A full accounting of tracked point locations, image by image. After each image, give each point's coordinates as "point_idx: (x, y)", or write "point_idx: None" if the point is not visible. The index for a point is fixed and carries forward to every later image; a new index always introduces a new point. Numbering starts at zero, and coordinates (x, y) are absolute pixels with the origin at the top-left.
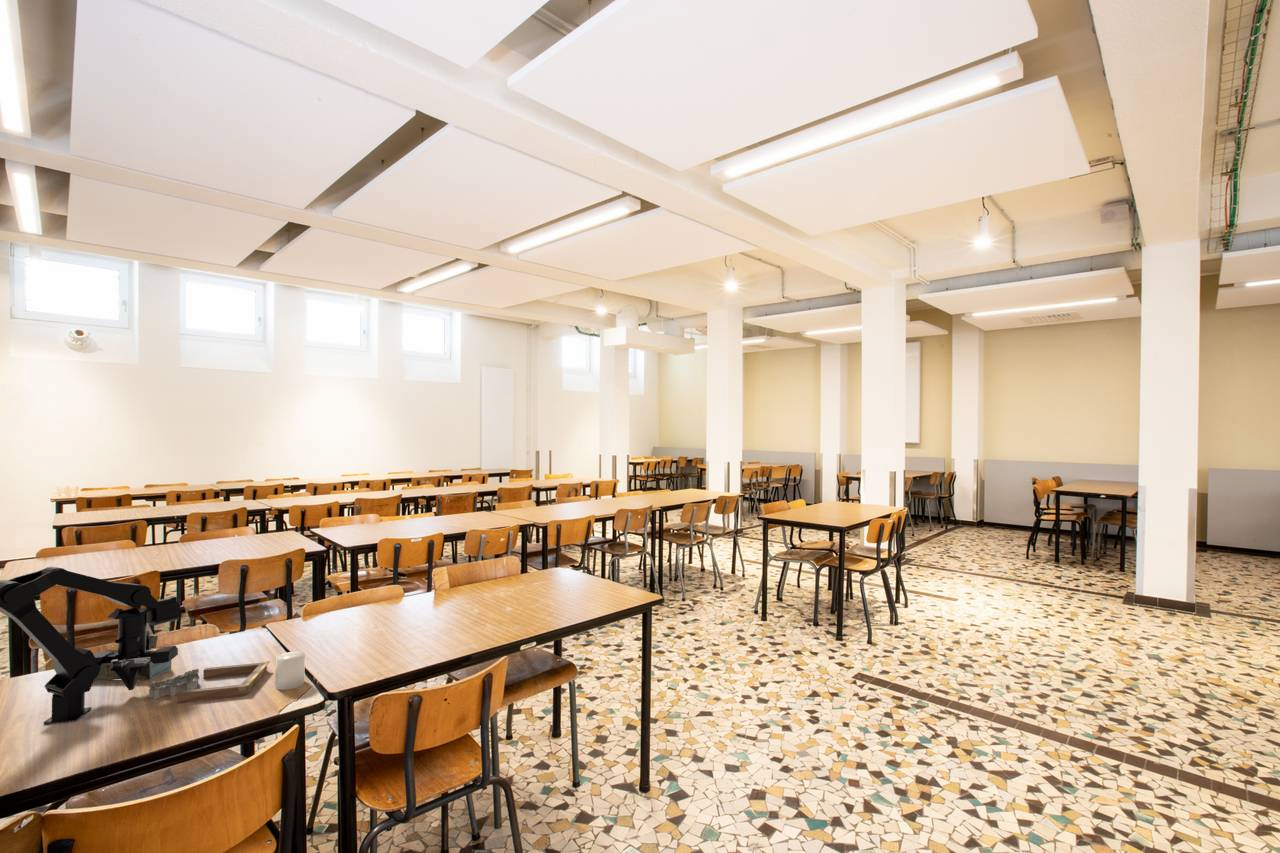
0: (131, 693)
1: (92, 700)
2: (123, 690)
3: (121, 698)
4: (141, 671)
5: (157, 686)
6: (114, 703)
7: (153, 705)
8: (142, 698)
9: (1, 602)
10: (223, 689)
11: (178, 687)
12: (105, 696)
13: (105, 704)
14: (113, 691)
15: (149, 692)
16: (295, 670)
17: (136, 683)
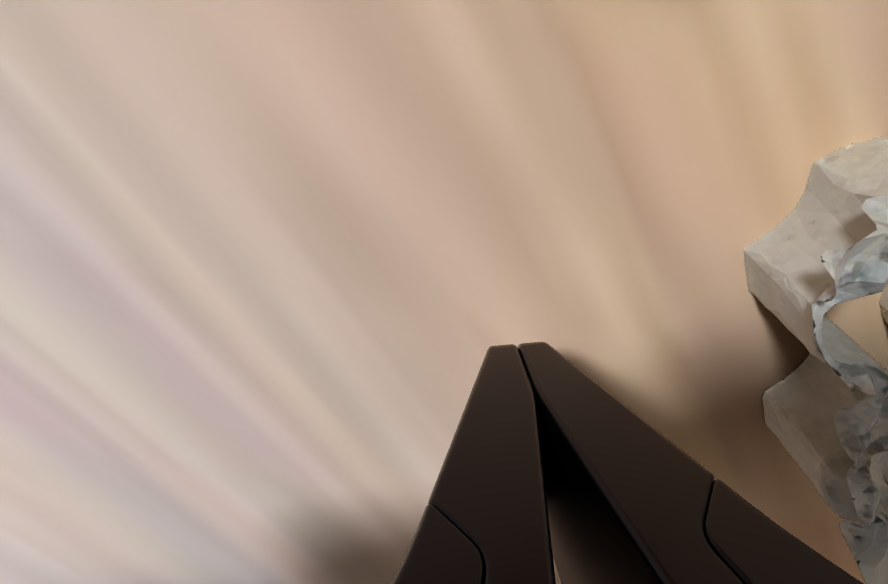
0: (459, 242)
1: (43, 383)
2: (221, 75)
3: (419, 383)
4: (814, 577)
5: (850, 201)
6: (426, 492)
7: (850, 569)
8: (690, 421)
9: None
10: None
11: None
12: (112, 283)
13: (336, 501)
14: (54, 87)
15: (814, 484)
16: None
17: (589, 378)
